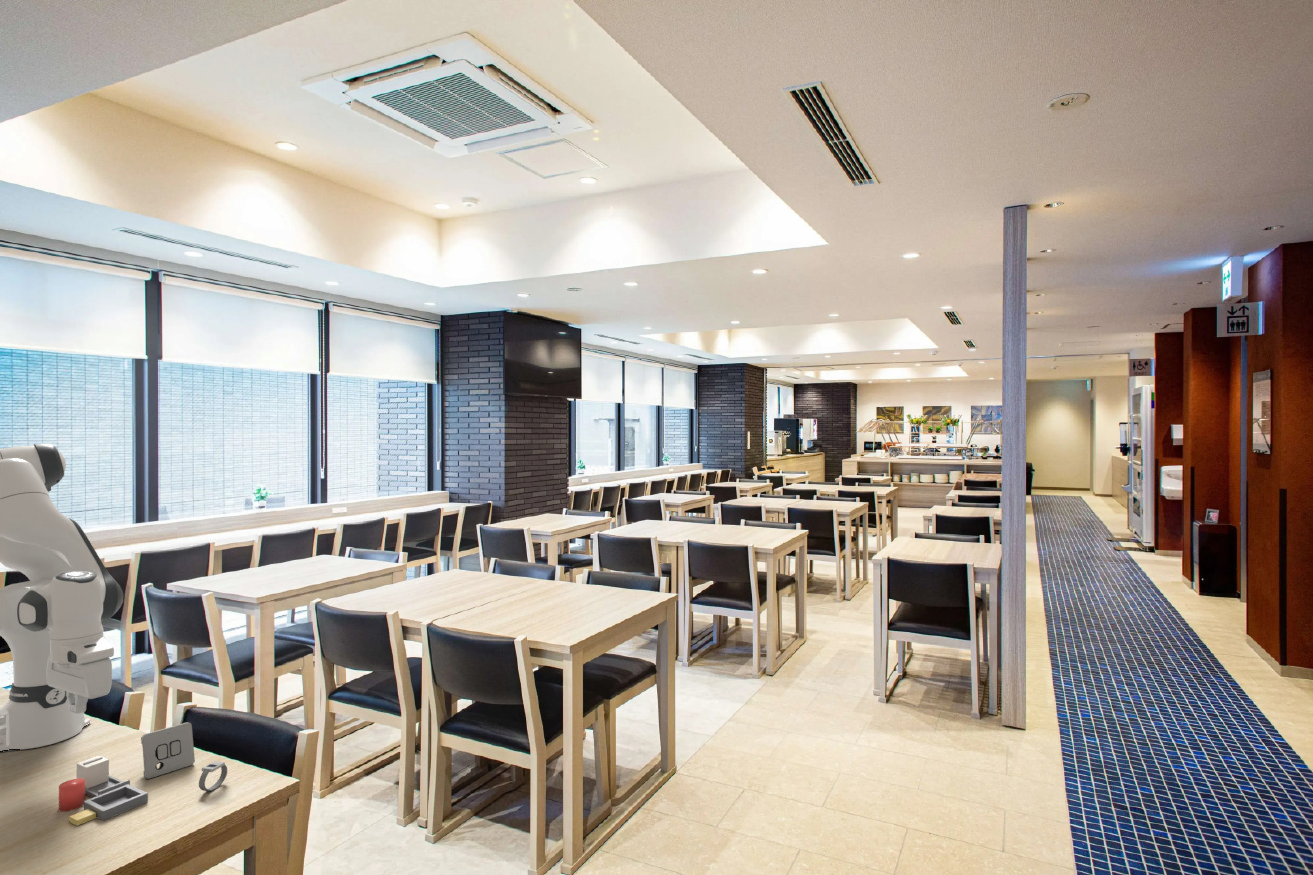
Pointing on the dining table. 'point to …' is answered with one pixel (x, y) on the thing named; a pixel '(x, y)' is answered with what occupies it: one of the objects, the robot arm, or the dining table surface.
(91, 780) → the white slotted block
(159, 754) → the electrical switch
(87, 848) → the dining table surface
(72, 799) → the cap
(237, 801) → the dining table surface
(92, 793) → the rail
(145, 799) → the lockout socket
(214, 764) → the wristwatch
